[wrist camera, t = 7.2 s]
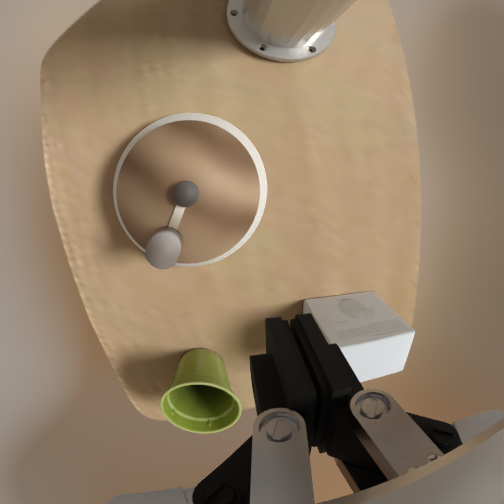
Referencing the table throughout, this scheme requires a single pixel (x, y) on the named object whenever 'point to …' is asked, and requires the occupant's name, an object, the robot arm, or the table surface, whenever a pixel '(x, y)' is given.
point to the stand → (234, 132)
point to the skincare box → (363, 332)
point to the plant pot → (201, 395)
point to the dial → (187, 192)
